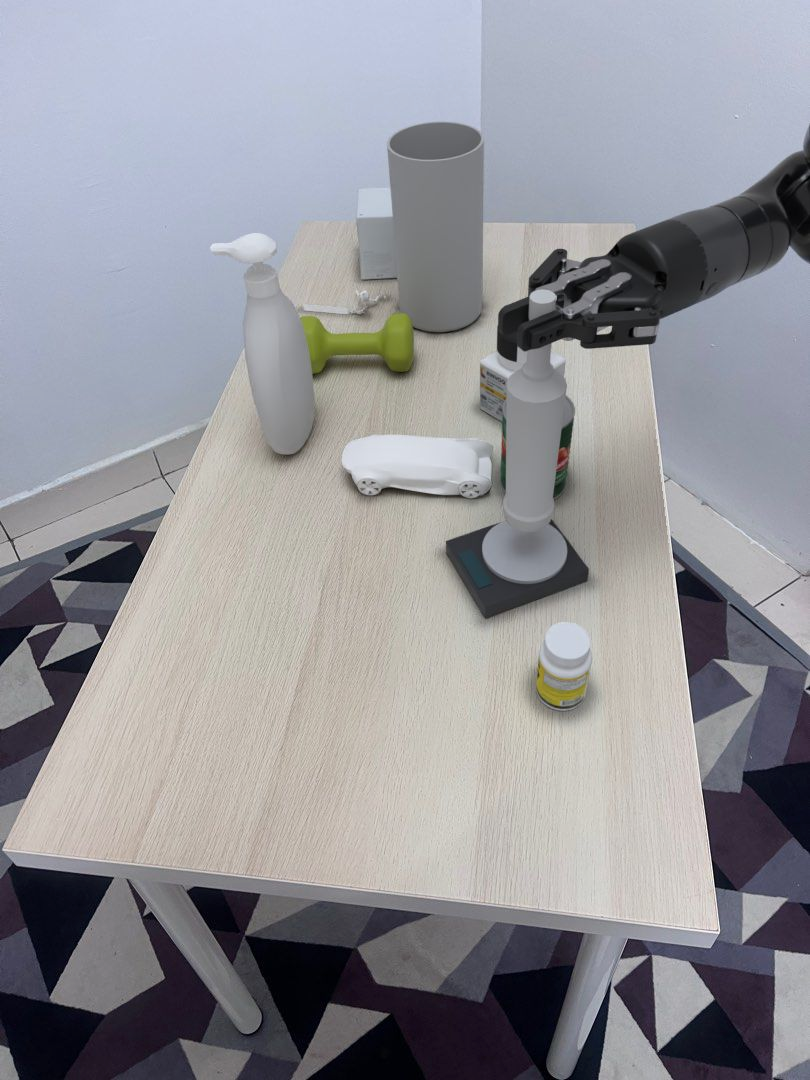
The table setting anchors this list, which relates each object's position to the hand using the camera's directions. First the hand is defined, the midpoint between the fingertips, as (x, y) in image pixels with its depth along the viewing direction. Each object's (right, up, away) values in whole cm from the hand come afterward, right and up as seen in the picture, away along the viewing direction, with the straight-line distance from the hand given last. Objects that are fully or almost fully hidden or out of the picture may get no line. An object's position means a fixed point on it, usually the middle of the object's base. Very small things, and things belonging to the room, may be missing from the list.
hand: (511, 331), depth 63 cm
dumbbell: (-15, +8, +50) cm, 53 cm away
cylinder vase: (-3, +18, +58) cm, 61 cm away
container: (+7, +1, +41) cm, 42 cm away
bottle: (+4, -14, +18) cm, 23 cm away
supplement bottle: (+6, -31, +13) cm, 34 cm away
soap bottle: (-24, -3, +41) cm, 47 cm away
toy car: (-7, -9, +34) cm, 36 cm away
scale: (+4, -19, +23) cm, 30 cm away
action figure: (-18, +19, +60) cm, 66 cm away
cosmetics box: (-12, +29, +69) cm, 76 cm away
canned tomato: (+7, -10, +32) cm, 34 cm away
